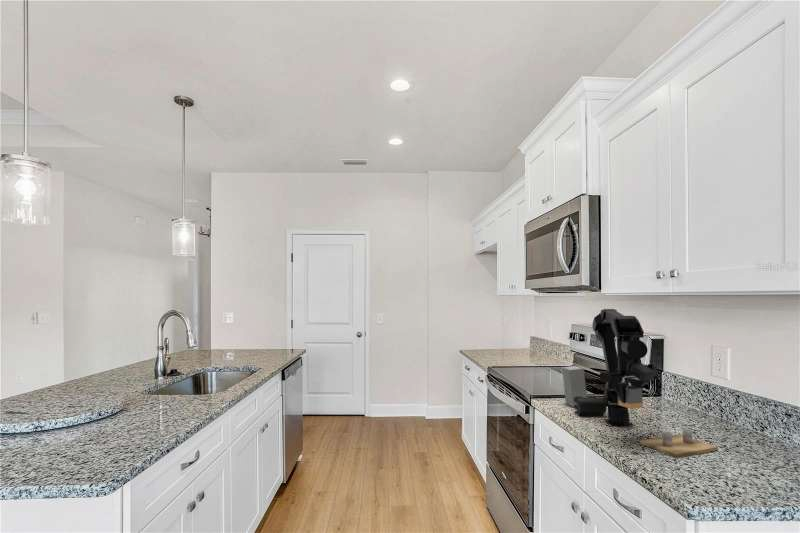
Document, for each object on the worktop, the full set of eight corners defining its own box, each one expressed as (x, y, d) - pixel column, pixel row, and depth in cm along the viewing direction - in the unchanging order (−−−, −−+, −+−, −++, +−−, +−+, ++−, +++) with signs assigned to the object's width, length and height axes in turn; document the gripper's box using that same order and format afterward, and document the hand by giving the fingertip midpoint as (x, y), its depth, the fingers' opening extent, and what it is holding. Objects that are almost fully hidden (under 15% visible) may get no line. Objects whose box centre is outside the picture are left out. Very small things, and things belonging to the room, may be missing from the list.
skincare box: (588, 407, 167) (586, 368, 168) (571, 408, 167) (569, 369, 168) (580, 402, 175) (577, 365, 176) (563, 402, 175) (561, 365, 177)
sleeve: (618, 404, 135) (617, 386, 135) (630, 403, 136) (629, 385, 136) (630, 408, 130) (629, 389, 130) (643, 407, 131) (641, 388, 132)
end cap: (580, 418, 154) (579, 399, 155) (573, 412, 161) (572, 395, 162) (607, 417, 154) (606, 399, 154) (598, 412, 161) (597, 394, 161)
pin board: (640, 443, 127) (639, 428, 127) (679, 437, 131) (678, 423, 132) (675, 457, 115) (674, 441, 116) (717, 450, 120) (716, 435, 120)
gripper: (623, 359, 124) (627, 411, 123) (671, 355, 129) (675, 405, 128) (596, 354, 135) (599, 402, 133) (641, 351, 140) (644, 397, 138)
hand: (630, 402), depth 133 cm, fingers closed on sleeve, 5 cm apart
